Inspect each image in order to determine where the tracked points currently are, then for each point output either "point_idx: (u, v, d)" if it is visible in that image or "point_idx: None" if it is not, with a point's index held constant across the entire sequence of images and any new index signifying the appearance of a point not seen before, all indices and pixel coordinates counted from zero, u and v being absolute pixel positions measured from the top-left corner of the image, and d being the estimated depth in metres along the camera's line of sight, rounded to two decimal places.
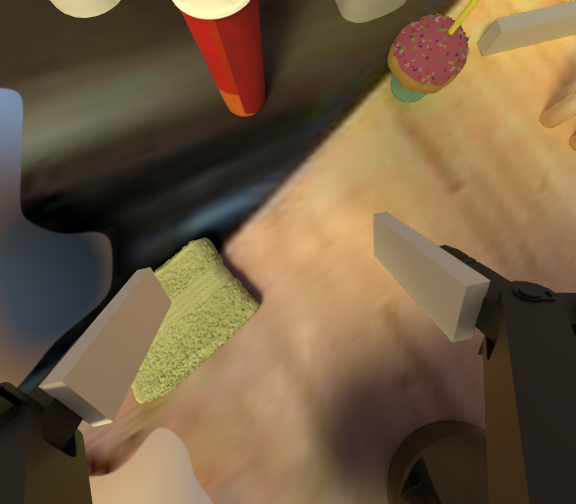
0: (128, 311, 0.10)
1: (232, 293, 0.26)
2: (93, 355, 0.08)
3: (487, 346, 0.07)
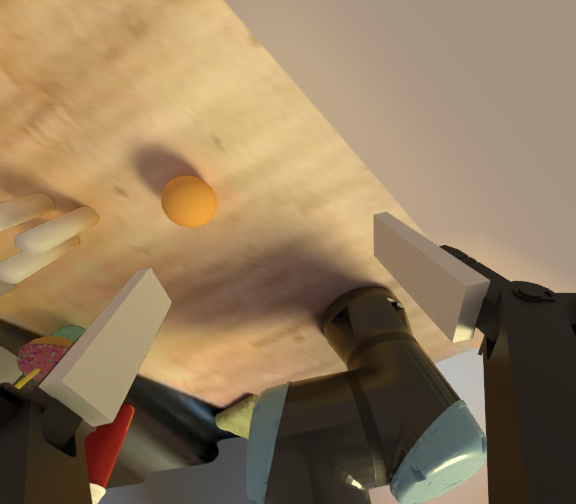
0: (128, 311, 0.10)
1: (244, 412, 0.50)
2: (93, 355, 0.08)
3: (487, 346, 0.07)
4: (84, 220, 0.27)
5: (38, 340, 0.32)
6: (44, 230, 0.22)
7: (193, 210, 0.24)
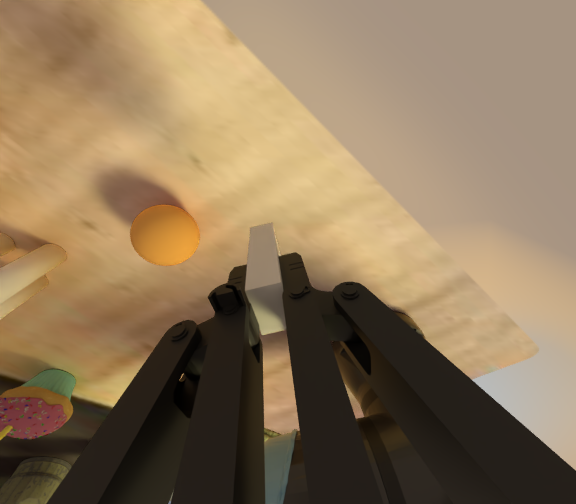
0: None
1: None
2: None
3: None
4: (45, 262, 0.23)
5: (10, 393, 0.28)
6: None
7: (168, 248, 0.20)
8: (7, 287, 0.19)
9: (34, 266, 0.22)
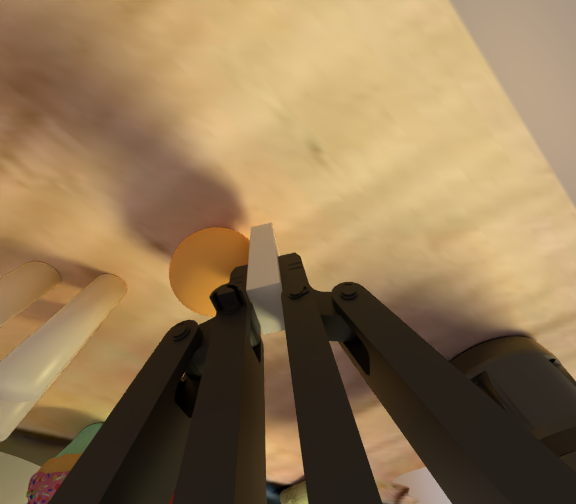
0: None
1: None
2: None
3: None
4: (106, 302, 0.16)
5: (54, 465, 0.22)
6: (38, 351, 0.12)
7: (180, 300, 0.14)
8: (64, 350, 0.13)
9: (94, 310, 0.15)
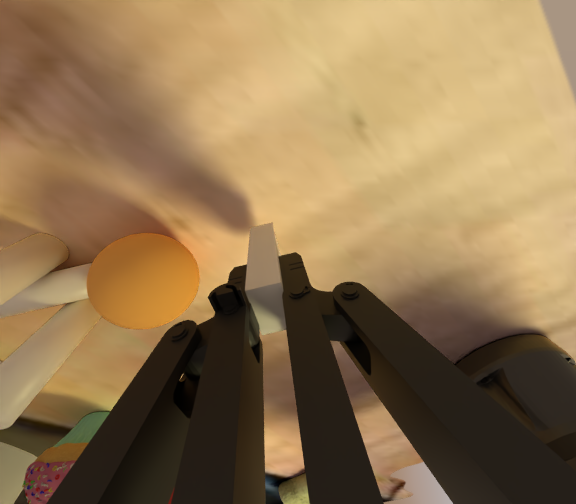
0: None
1: None
2: None
3: None
4: (51, 298, 0.15)
5: (53, 455, 0.20)
6: None
7: None
8: None
9: (33, 299, 0.15)
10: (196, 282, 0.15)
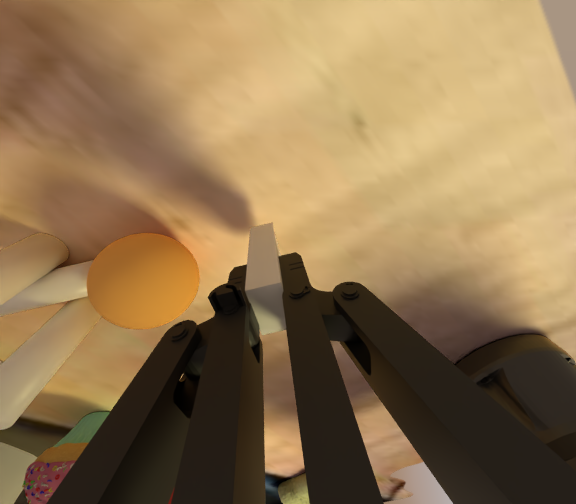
0: None
1: None
2: None
3: None
4: (47, 294, 0.15)
5: (53, 455, 0.20)
6: None
7: None
8: None
9: (30, 295, 0.15)
10: (196, 282, 0.15)
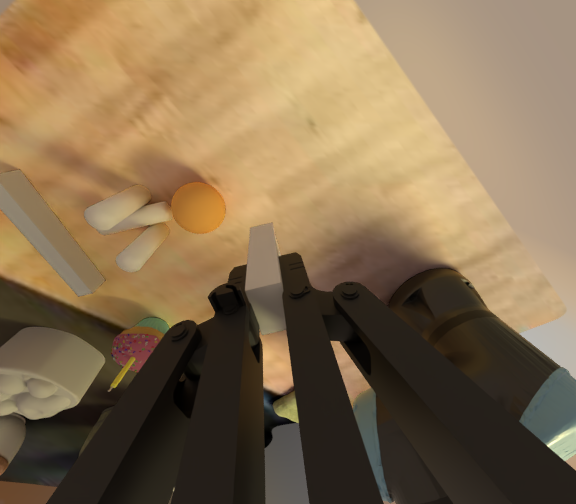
0: None
1: None
2: None
3: None
4: (143, 218, 0.27)
5: (130, 330, 0.33)
6: None
7: None
8: None
9: (134, 218, 0.27)
10: (224, 210, 0.27)
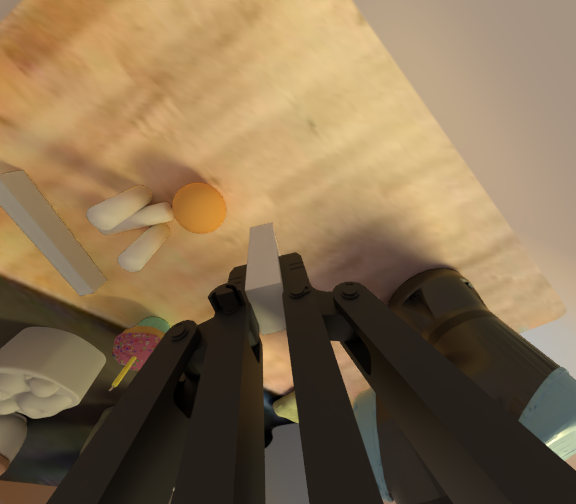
0: None
1: None
2: None
3: None
4: (145, 218, 0.28)
5: (131, 330, 0.33)
6: None
7: None
8: (114, 227, 0.28)
9: (135, 219, 0.27)
10: (225, 210, 0.27)
